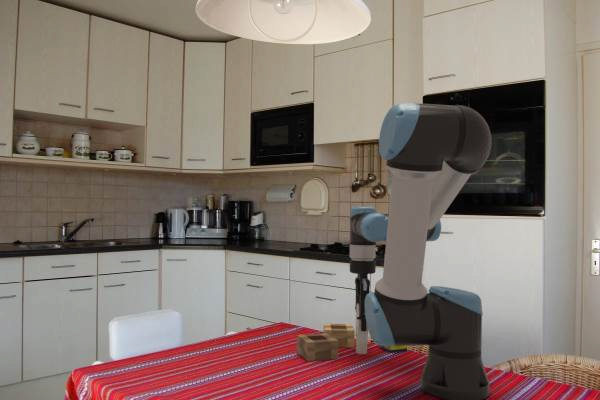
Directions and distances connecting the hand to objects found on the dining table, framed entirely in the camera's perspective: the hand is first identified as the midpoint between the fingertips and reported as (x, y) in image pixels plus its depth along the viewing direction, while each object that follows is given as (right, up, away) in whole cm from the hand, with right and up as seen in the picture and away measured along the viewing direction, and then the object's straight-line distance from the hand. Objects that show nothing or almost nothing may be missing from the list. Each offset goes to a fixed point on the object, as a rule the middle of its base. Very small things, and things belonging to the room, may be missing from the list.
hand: (361, 338), depth 147 cm
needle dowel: (0, -4, 0) cm, 4 cm away
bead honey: (-6, -4, +10) cm, 12 cm away
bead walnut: (-13, -4, -4) cm, 14 cm away
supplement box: (+10, -4, +4) cm, 12 cm away
